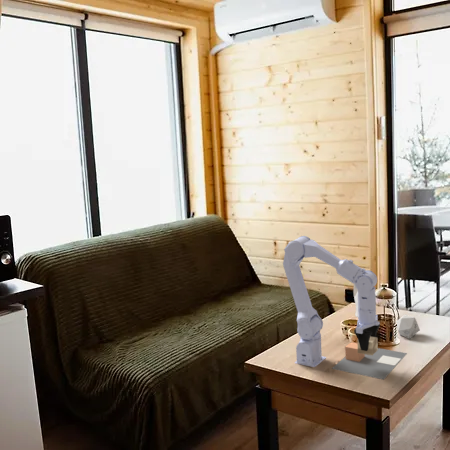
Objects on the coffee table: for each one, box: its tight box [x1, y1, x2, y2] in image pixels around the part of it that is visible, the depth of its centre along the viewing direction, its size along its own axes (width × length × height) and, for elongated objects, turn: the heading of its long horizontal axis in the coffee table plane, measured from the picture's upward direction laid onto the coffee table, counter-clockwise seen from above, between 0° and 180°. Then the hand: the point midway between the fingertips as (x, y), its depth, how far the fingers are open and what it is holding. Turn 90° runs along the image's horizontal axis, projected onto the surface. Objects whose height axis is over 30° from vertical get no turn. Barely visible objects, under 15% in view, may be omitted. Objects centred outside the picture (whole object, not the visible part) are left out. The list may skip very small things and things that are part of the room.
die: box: [395, 314, 421, 339], centre depth 214 cm, size 8×9×10 cm
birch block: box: [356, 336, 379, 355], centre depth 186 cm, size 5×5×4 cm
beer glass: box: [353, 284, 358, 318], centre depth 239 cm, size 7×7×15 cm
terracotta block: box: [344, 342, 365, 362], centre depth 195 cm, size 5×5×4 cm
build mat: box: [331, 347, 408, 381], centre depth 193 cm, size 24×18×1 cm
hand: (367, 347), depth 186 cm, fingers closed on birch block, 5 cm apart
